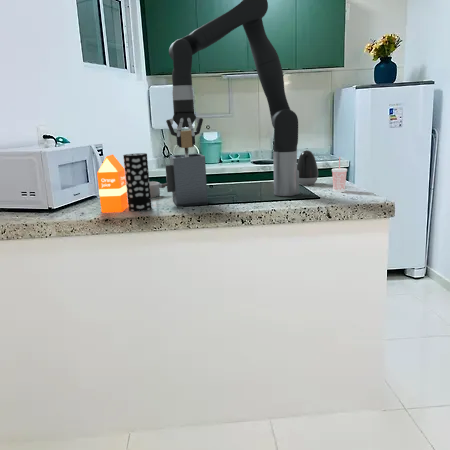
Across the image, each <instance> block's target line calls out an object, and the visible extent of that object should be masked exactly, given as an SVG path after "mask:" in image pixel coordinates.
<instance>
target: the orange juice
mask: <svg viewBox="0 0 450 450" xmlns="http://www.w3.org/2000/svg"><path fill="white" fill-rule="evenodd" d="M104 158H105V159H104V160H103V162H102V164H101V165H100V168H98V170H97V172H96V175H97V185H98V195H99V201H100V209H101V213H104V214H105V213H107V214H108V213H122V212H124V211H125V210H127V208H129V207H128V197H127V187H126V177H125V167H124V166H123V165H122V164H121V163H120V162H119V160H118V159H117V157H115V155H114V154H110V155H107V156H105V157H104Z"/></svg>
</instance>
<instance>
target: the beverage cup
mask: <svg viewBox="0 0 450 450" xmlns="http://www.w3.org/2000/svg"><path fill="white" fill-rule="evenodd" d="M347 172H348V168H346V167H345V168H344V167H341V156H339V157H338V167H337V168H336V167H334V168H332V169H331V173H332V175H331V176H332V192H334V193H344V192H345V191H346V182H347Z"/></svg>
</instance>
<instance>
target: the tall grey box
mask: <svg viewBox="0 0 450 450" xmlns="http://www.w3.org/2000/svg"><path fill="white" fill-rule="evenodd" d="M164 166H165V175H166V176H165V177H166V183H167V186H166V190H167V193H171V195H172V203H174V205H175V207H176V208H183V207H192V206H193V207H194V206H195V207H197V206H204V205H208V188H207V186H208V185H207V170H206V168H207V167H206V156H205V155H203V154H201V153H189V157H185V154H173V155H169V164H165V165H164Z"/></svg>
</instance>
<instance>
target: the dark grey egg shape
mask: <svg viewBox="0 0 450 450" xmlns="http://www.w3.org/2000/svg"><path fill="white" fill-rule="evenodd" d="M297 170H298V171H299V185H301V186H312V185H314V184H316V182H317V181H318V178H319V169H318V164H317V160H316V158H315V155H314V153H313V152H312V151H310V150H304V151H302V152H301V153H300V155H299V157H298V158H297Z"/></svg>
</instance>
